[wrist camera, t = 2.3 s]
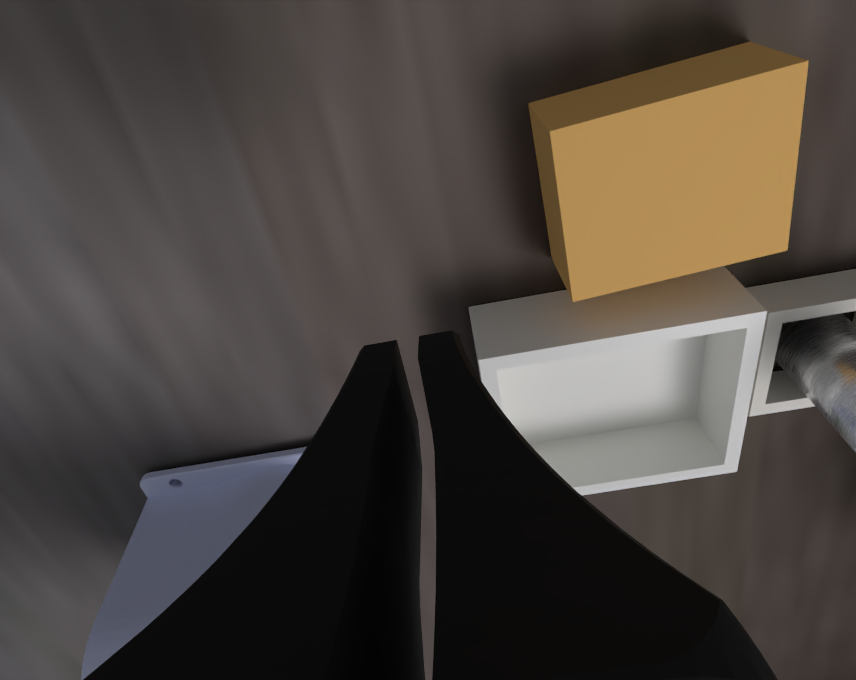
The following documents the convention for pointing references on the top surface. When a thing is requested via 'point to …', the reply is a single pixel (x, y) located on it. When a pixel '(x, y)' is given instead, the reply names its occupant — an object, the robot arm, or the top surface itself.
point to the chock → (670, 168)
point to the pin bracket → (787, 306)
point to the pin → (824, 367)
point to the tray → (626, 377)
